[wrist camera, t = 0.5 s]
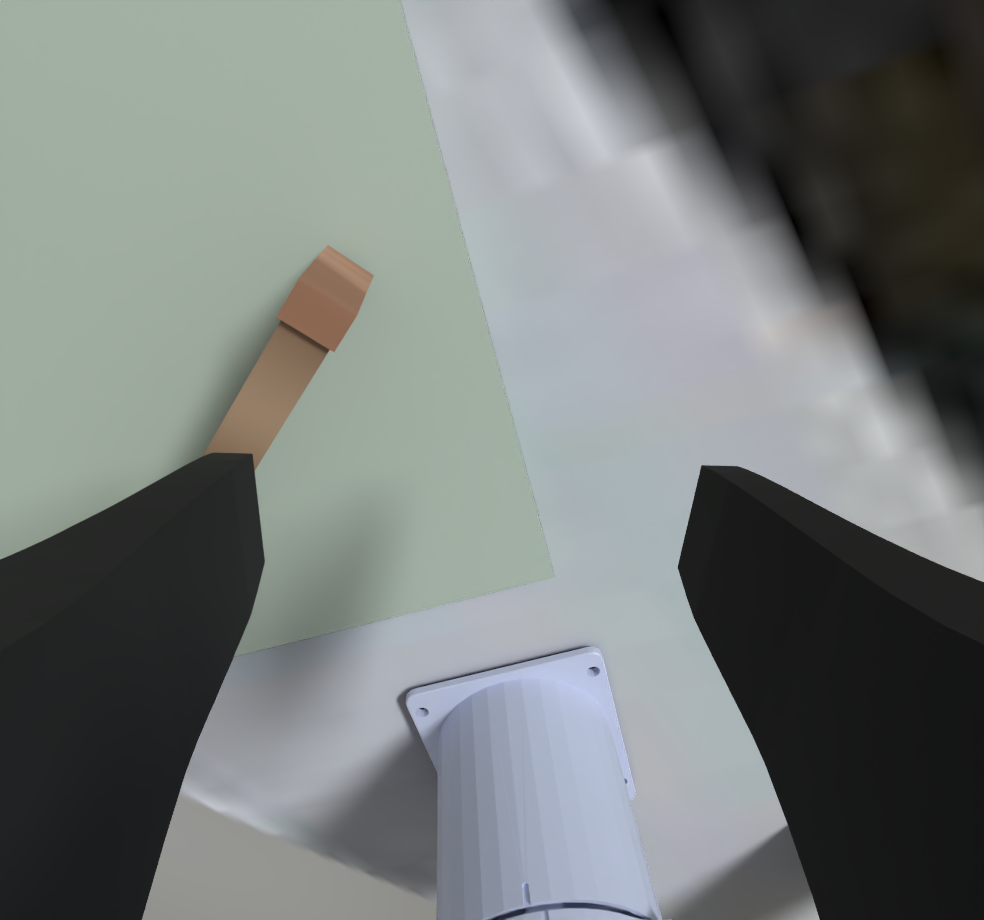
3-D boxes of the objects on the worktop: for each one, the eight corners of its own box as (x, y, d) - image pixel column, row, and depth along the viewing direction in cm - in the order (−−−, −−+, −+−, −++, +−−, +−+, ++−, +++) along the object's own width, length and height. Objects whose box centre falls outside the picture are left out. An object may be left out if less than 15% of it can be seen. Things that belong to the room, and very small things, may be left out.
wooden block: (168, 607, 23) (117, 699, 19) (127, 590, 22) (68, 681, 19) (373, 275, 18) (356, 315, 14) (327, 245, 17) (298, 278, 14)
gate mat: (552, 566, 24) (554, 577, 24) (94, 680, 25) (87, 693, 25) (351, -183, 14) (347, -194, 14) (-386, 57, 15) (-416, 56, 15)
